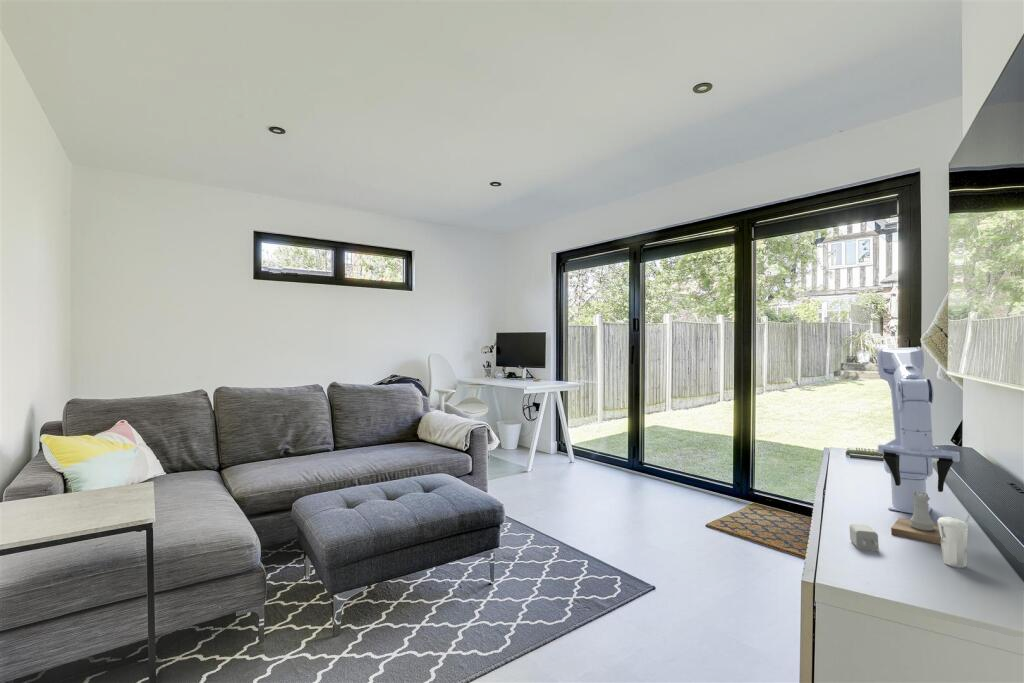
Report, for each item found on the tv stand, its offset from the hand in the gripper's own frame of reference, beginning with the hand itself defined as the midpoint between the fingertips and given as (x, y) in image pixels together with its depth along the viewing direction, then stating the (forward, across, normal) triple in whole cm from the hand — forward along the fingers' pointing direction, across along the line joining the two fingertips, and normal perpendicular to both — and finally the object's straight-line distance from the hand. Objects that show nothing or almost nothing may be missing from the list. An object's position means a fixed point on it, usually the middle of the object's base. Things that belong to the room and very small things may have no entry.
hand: (918, 487), depth 112 cm
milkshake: (+10, +8, -18) cm, 22 cm away
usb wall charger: (+10, -7, -20) cm, 24 cm away
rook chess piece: (+9, 0, -2) cm, 9 cm away
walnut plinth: (+10, 0, -2) cm, 10 cm away
